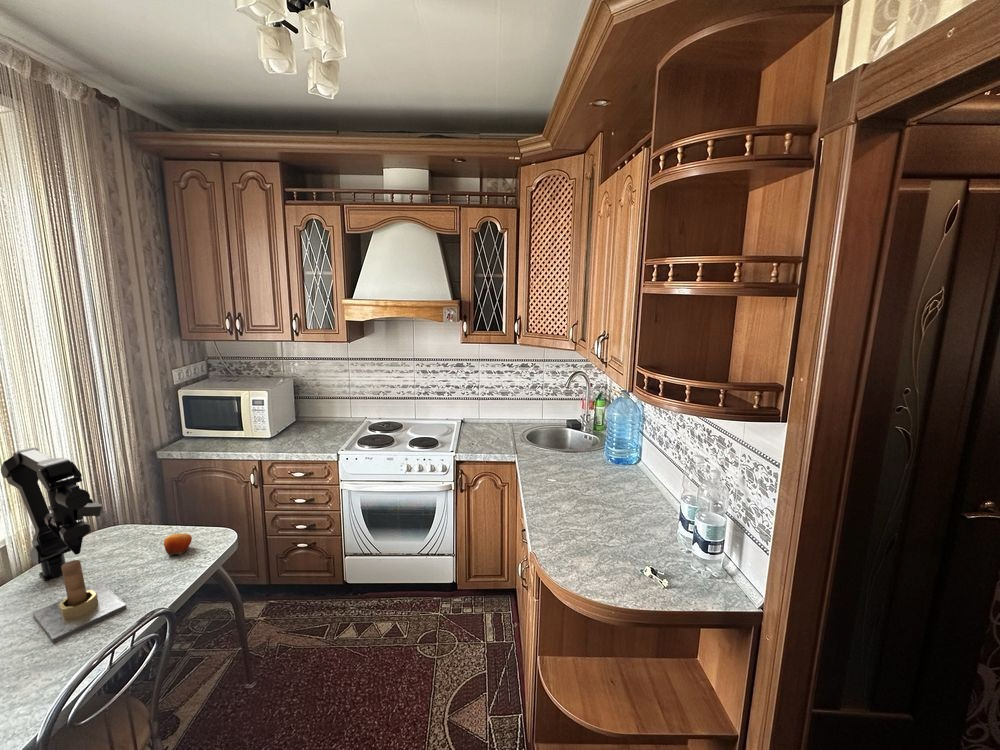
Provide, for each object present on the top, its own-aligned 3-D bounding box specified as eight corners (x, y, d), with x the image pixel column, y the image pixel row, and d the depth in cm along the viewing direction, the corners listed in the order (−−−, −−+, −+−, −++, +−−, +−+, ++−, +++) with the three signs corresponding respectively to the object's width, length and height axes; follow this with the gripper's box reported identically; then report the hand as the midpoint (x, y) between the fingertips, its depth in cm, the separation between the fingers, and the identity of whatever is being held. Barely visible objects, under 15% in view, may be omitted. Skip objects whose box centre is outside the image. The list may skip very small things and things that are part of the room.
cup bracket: (33, 617, 134) (30, 603, 133) (103, 587, 147) (101, 574, 146) (53, 644, 124) (50, 629, 123) (126, 609, 137) (124, 595, 136)
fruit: (158, 559, 159) (160, 534, 162) (168, 559, 166) (169, 535, 169) (185, 555, 161) (187, 530, 164) (194, 555, 169) (195, 531, 171)
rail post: (73, 606, 136) (64, 562, 134) (90, 602, 138) (82, 558, 135) (68, 614, 133) (58, 569, 130) (86, 610, 135) (77, 566, 132)
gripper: (107, 499, 143) (116, 546, 146) (86, 484, 153) (94, 529, 156) (59, 514, 134) (69, 564, 137) (39, 497, 144) (49, 544, 147)
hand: (72, 549), depth 145 cm, fingers open, 9 cm apart
